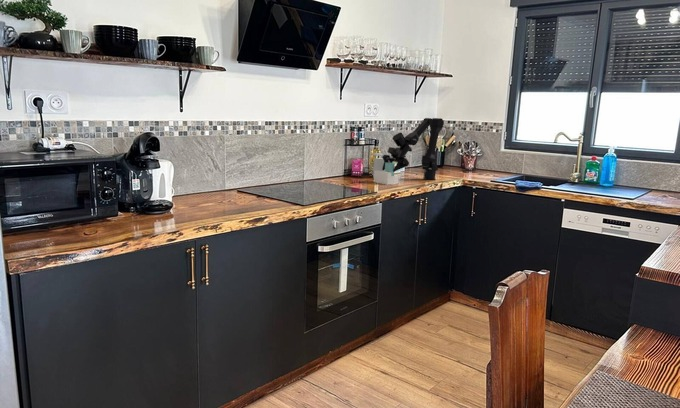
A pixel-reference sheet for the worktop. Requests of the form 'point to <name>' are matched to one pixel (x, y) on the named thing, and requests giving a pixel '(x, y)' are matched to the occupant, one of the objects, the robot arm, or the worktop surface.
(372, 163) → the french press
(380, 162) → the supplement box
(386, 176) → the socket
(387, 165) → the teal rectangular block
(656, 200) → the worktop surface
